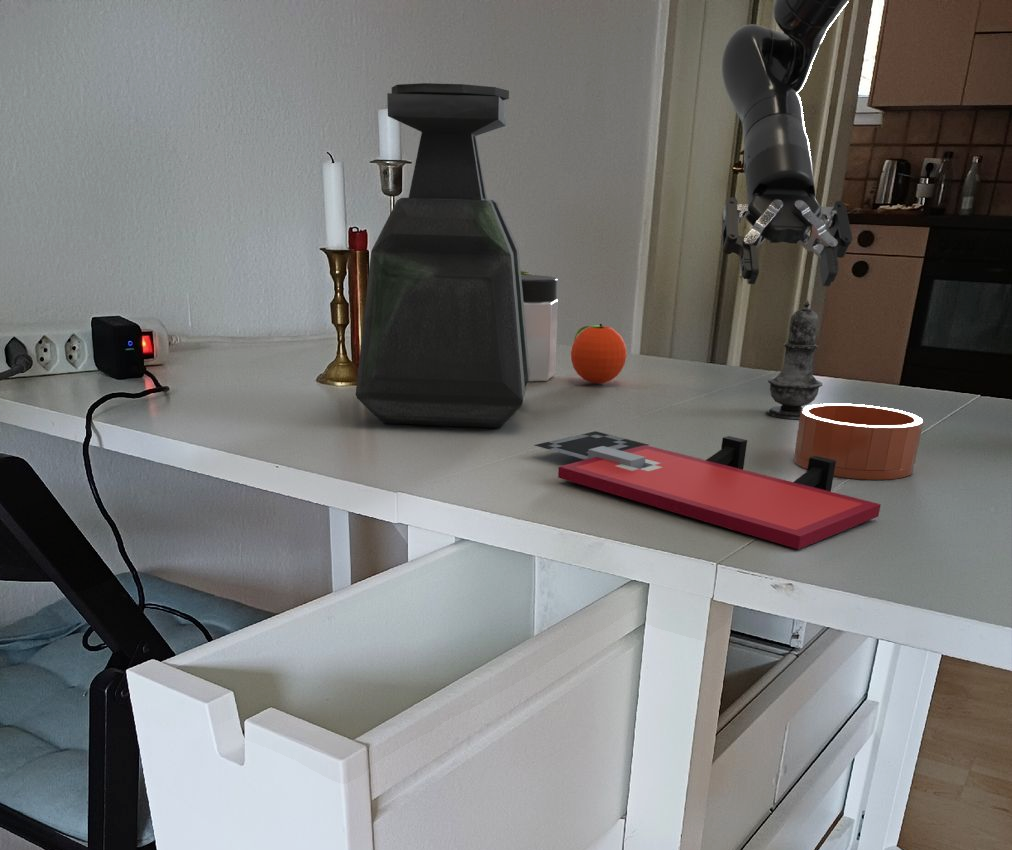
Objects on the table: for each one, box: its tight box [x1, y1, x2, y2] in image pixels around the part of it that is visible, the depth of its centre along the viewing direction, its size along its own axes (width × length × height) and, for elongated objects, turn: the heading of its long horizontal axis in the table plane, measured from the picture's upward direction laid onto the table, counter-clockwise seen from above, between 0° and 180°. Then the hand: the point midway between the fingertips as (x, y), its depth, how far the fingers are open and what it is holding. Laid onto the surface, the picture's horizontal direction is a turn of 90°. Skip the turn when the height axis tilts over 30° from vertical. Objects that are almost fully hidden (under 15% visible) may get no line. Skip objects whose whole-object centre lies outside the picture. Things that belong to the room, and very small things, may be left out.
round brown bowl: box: [793, 403, 924, 481], centre depth 91 cm, size 10×10×4 cm
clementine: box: [570, 323, 628, 384], centre depth 127 cm, size 8×7×7 cm
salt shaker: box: [765, 300, 824, 420], centre depth 110 cm, size 6×6×12 cm
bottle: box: [355, 82, 530, 429], centre depth 101 cm, size 18×16×30 cm
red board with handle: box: [533, 431, 882, 550], centre depth 83 cm, size 30×3×15 cm
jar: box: [521, 274, 559, 383], centre depth 128 cm, size 9×8×12 cm
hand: (791, 280), depth 113 cm, fingers open, 8 cm apart
